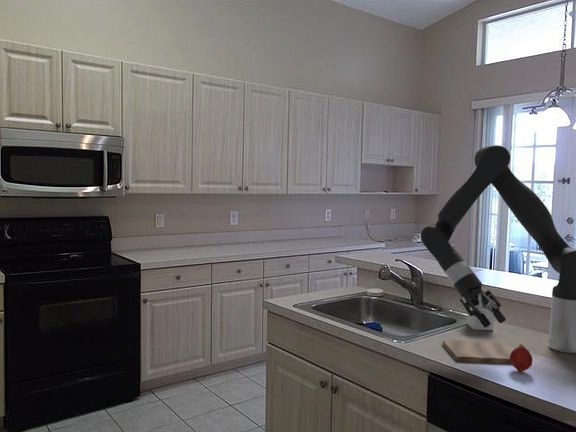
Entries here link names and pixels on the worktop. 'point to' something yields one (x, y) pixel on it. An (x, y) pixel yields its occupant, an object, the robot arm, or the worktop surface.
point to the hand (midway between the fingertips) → (495, 323)
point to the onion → (521, 358)
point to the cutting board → (479, 351)
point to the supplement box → (477, 325)
